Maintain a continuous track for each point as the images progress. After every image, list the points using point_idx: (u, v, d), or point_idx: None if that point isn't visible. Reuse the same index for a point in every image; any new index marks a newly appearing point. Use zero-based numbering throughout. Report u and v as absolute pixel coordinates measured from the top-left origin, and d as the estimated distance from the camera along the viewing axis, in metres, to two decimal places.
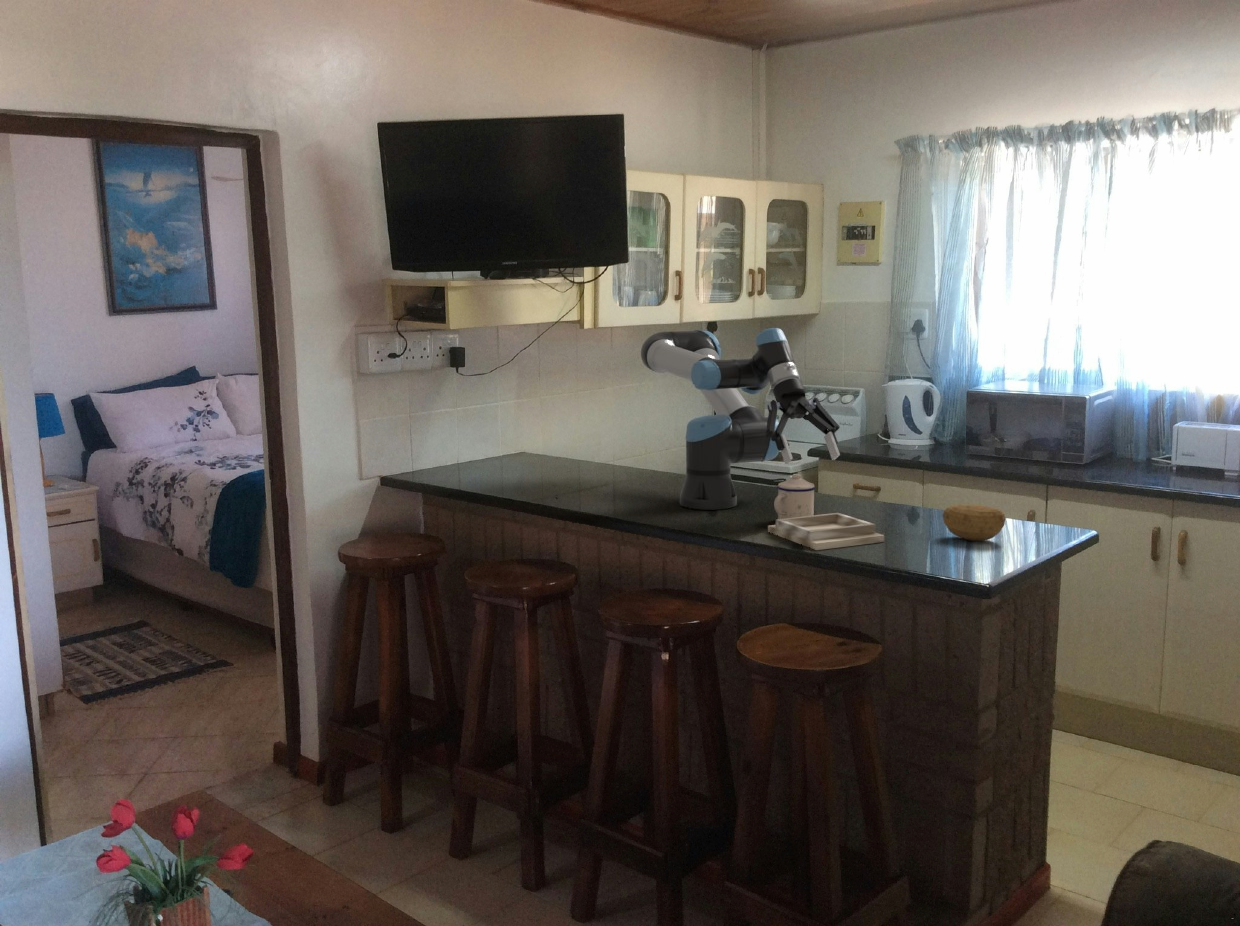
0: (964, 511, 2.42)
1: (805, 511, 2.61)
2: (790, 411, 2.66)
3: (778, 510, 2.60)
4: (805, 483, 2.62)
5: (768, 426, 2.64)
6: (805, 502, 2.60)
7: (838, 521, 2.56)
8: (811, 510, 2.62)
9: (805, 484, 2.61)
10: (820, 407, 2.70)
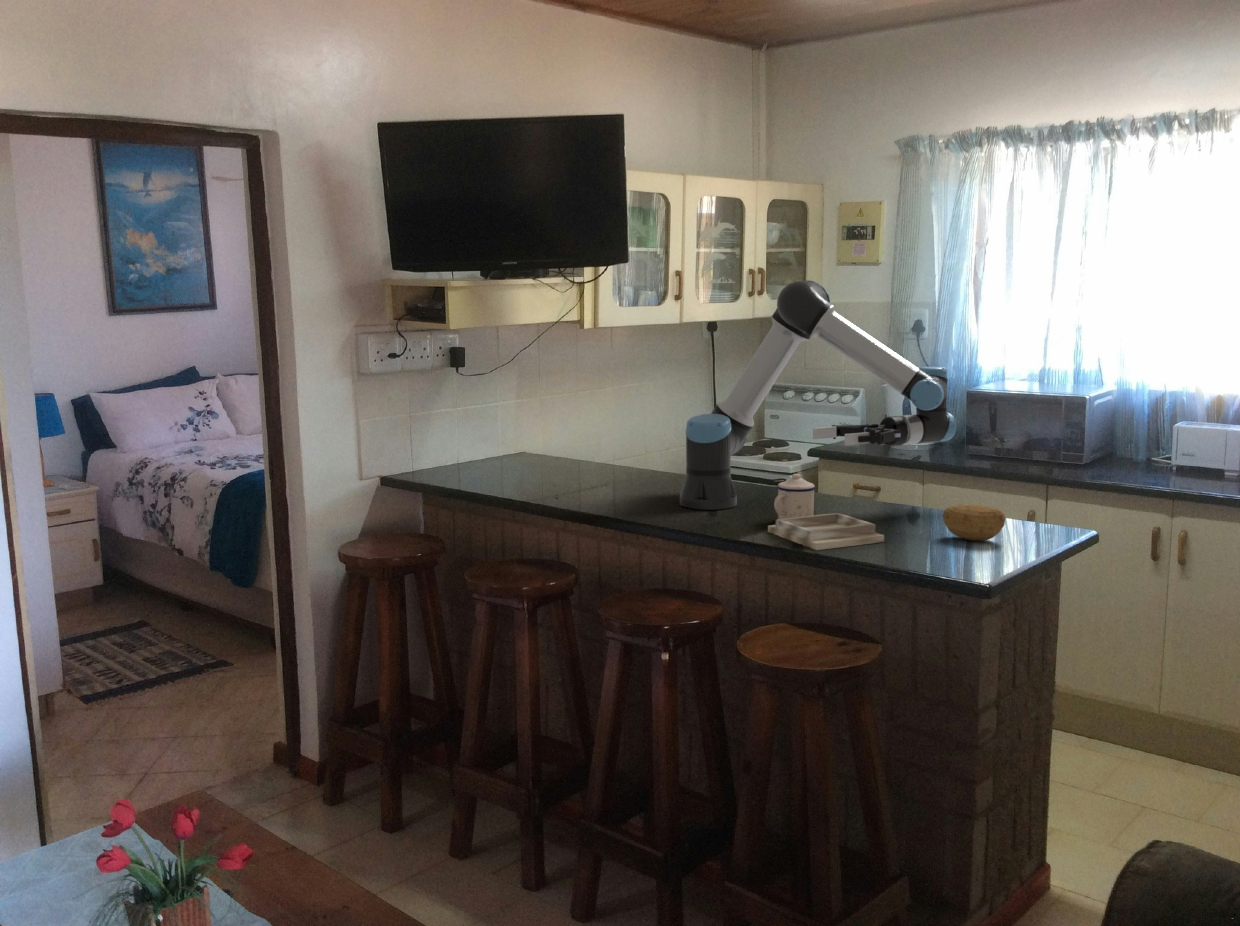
0: (964, 511, 2.42)
1: (805, 511, 2.61)
2: None
3: (778, 510, 2.60)
4: (805, 483, 2.62)
5: (885, 438, 2.61)
6: (805, 502, 2.60)
7: (838, 521, 2.56)
8: (811, 510, 2.62)
9: (805, 484, 2.61)
10: None
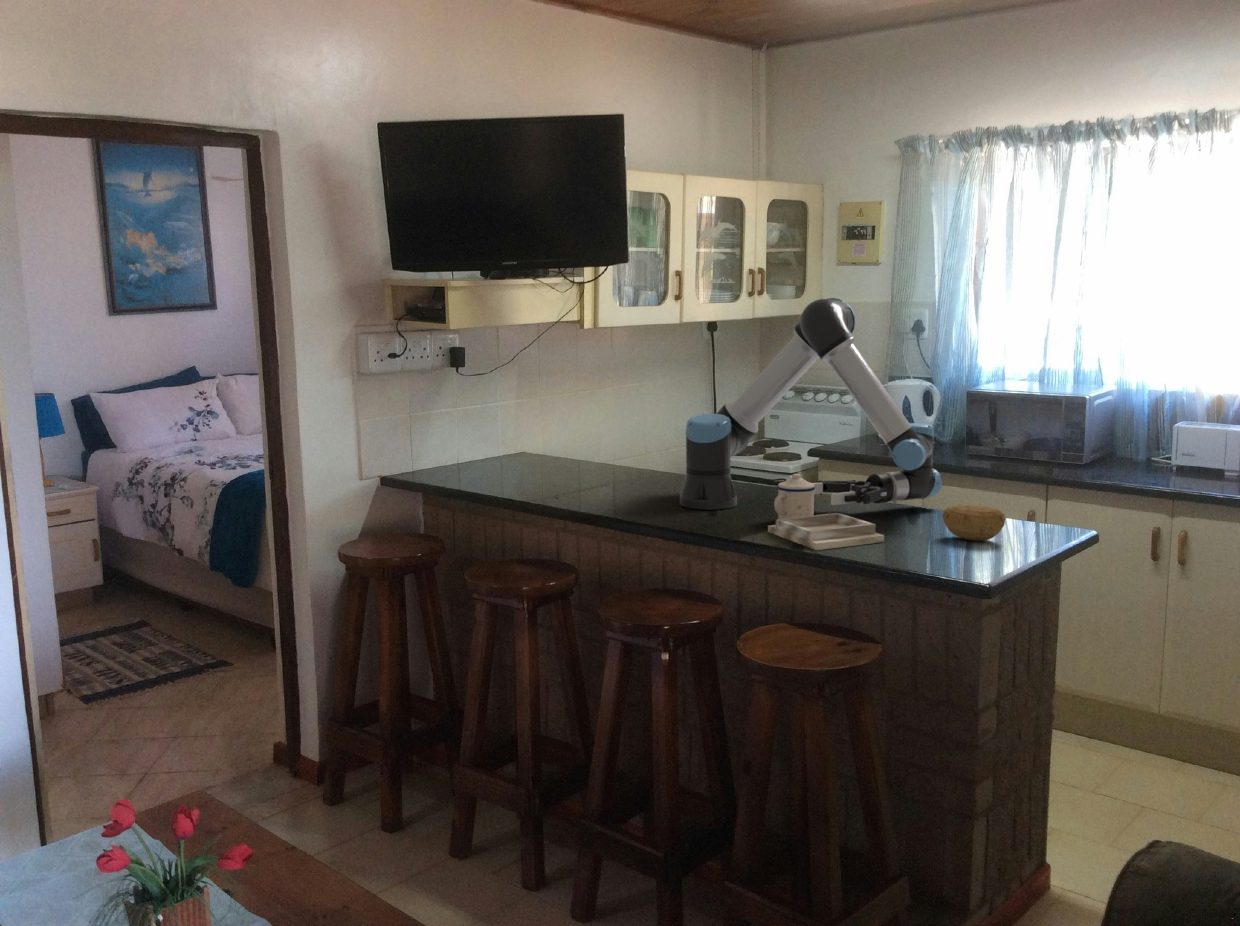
0: (964, 511, 2.42)
1: (805, 511, 2.61)
2: None
3: (778, 510, 2.60)
4: (805, 483, 2.62)
5: (871, 497, 2.61)
6: (805, 502, 2.60)
7: (838, 521, 2.56)
8: (811, 510, 2.62)
9: (805, 484, 2.61)
10: None
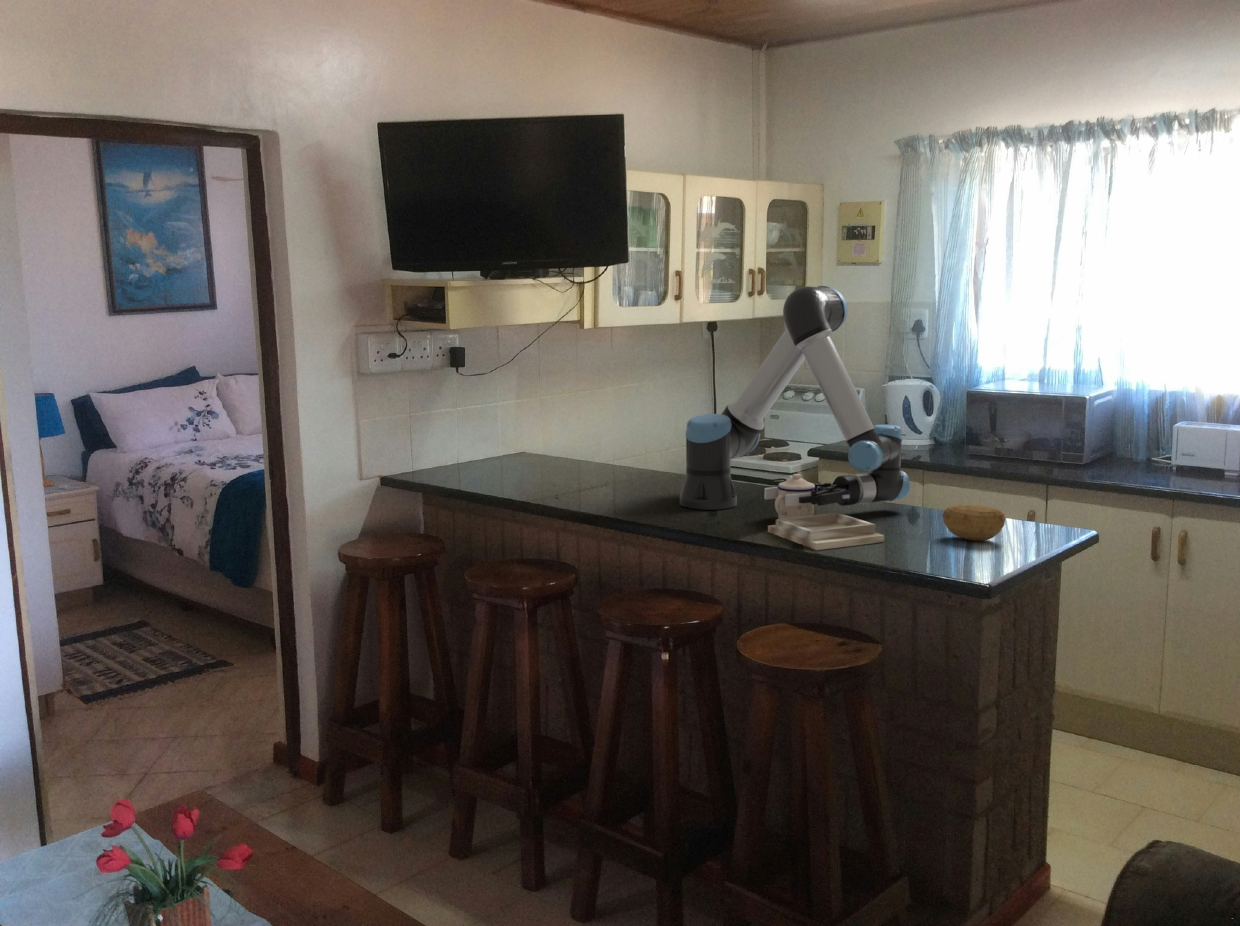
0: (964, 511, 2.42)
1: (806, 511, 2.61)
2: None
3: (779, 510, 2.60)
4: (805, 483, 2.61)
5: (827, 499, 2.59)
6: None
7: (838, 521, 2.56)
8: (811, 510, 2.62)
9: (805, 484, 2.61)
10: None
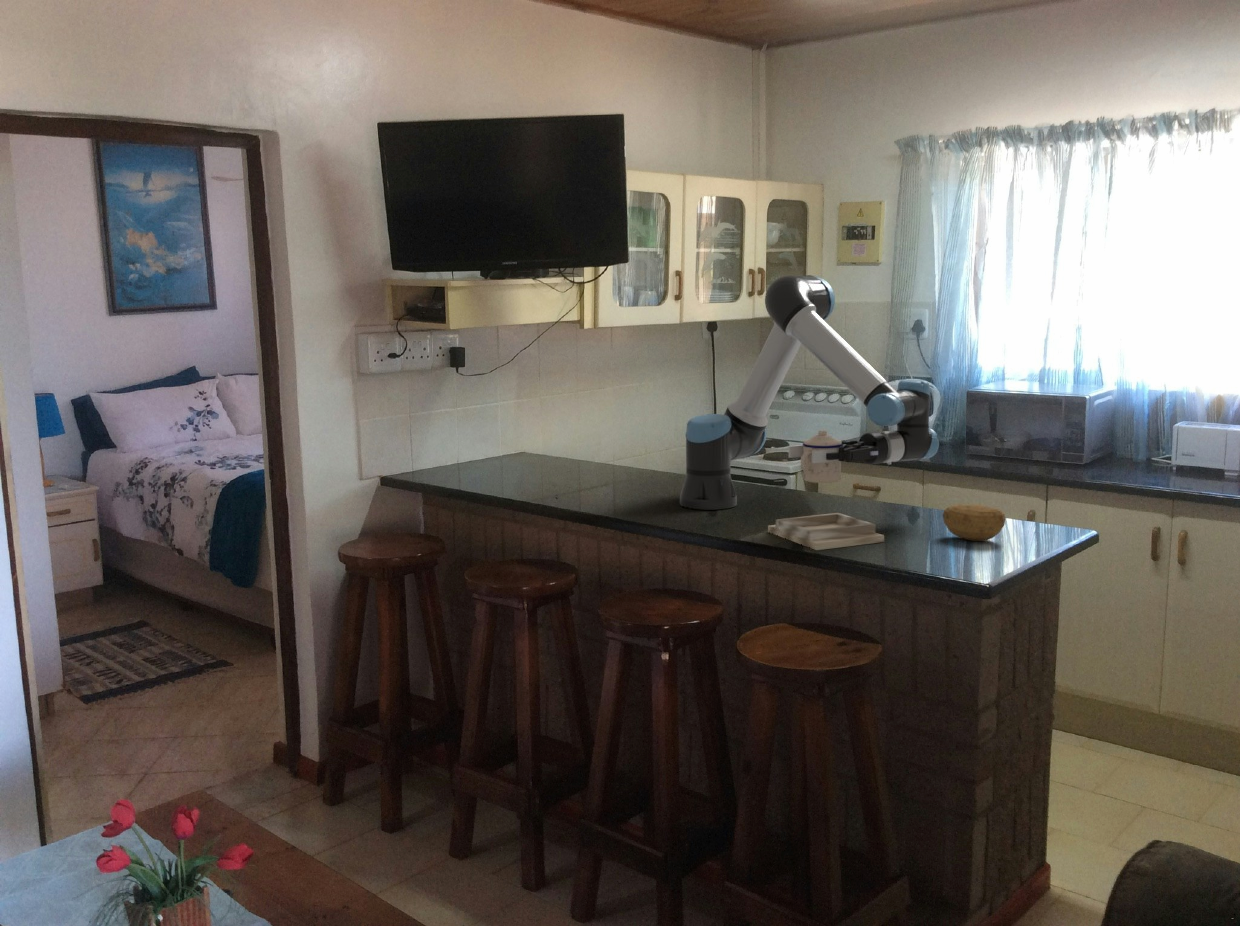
0: (964, 511, 2.42)
1: (833, 469, 2.49)
2: None
3: (805, 468, 2.48)
4: (832, 440, 2.50)
5: (856, 455, 2.47)
6: None
7: (838, 521, 2.56)
8: (838, 468, 2.50)
9: (832, 440, 2.49)
10: None
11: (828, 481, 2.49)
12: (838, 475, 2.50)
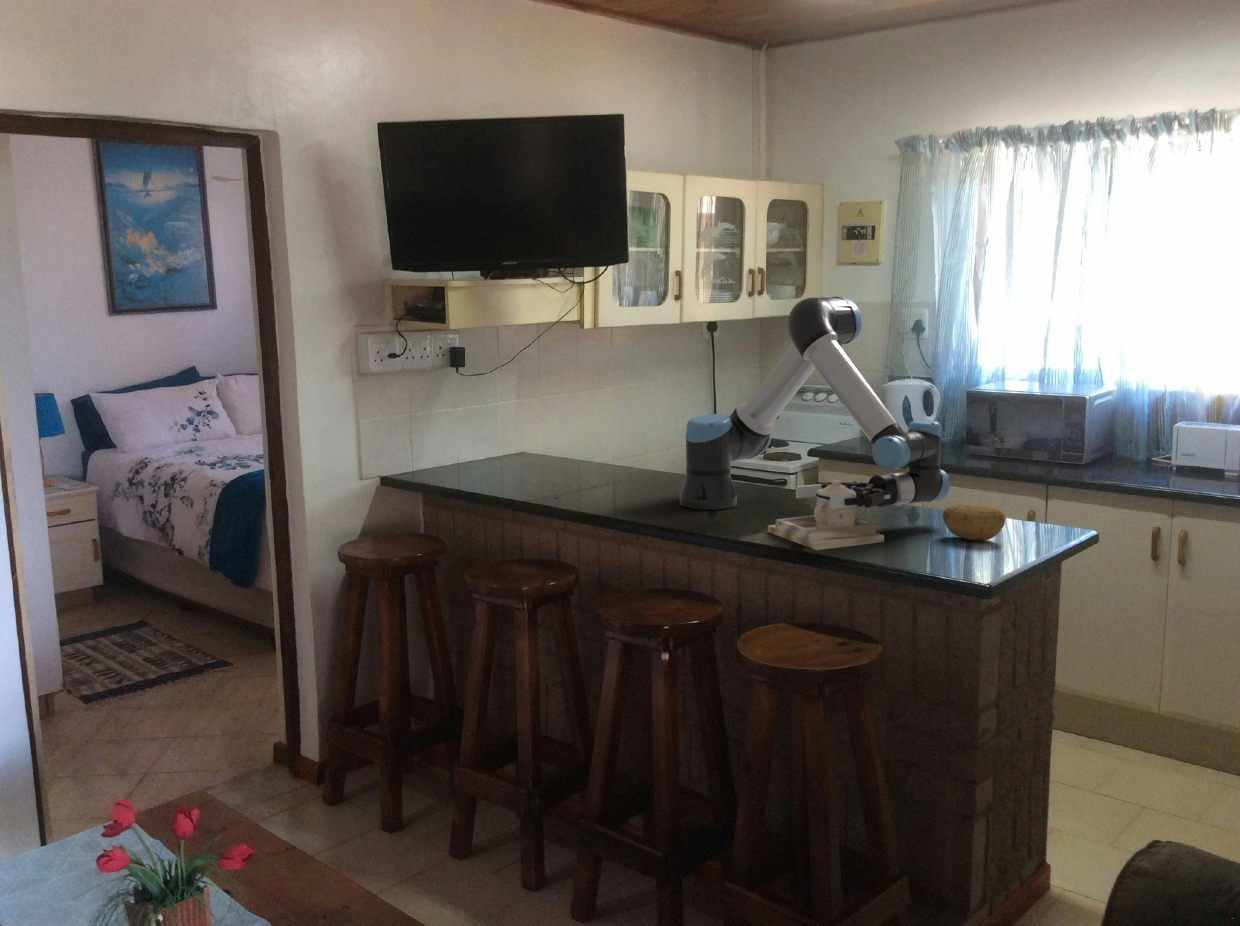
0: (964, 511, 2.42)
1: (847, 520, 2.43)
2: None
3: (818, 520, 2.42)
4: (846, 491, 2.43)
5: (873, 500, 2.41)
6: (846, 510, 2.42)
7: None
8: (853, 519, 2.44)
9: (847, 491, 2.43)
10: None
11: None
12: None
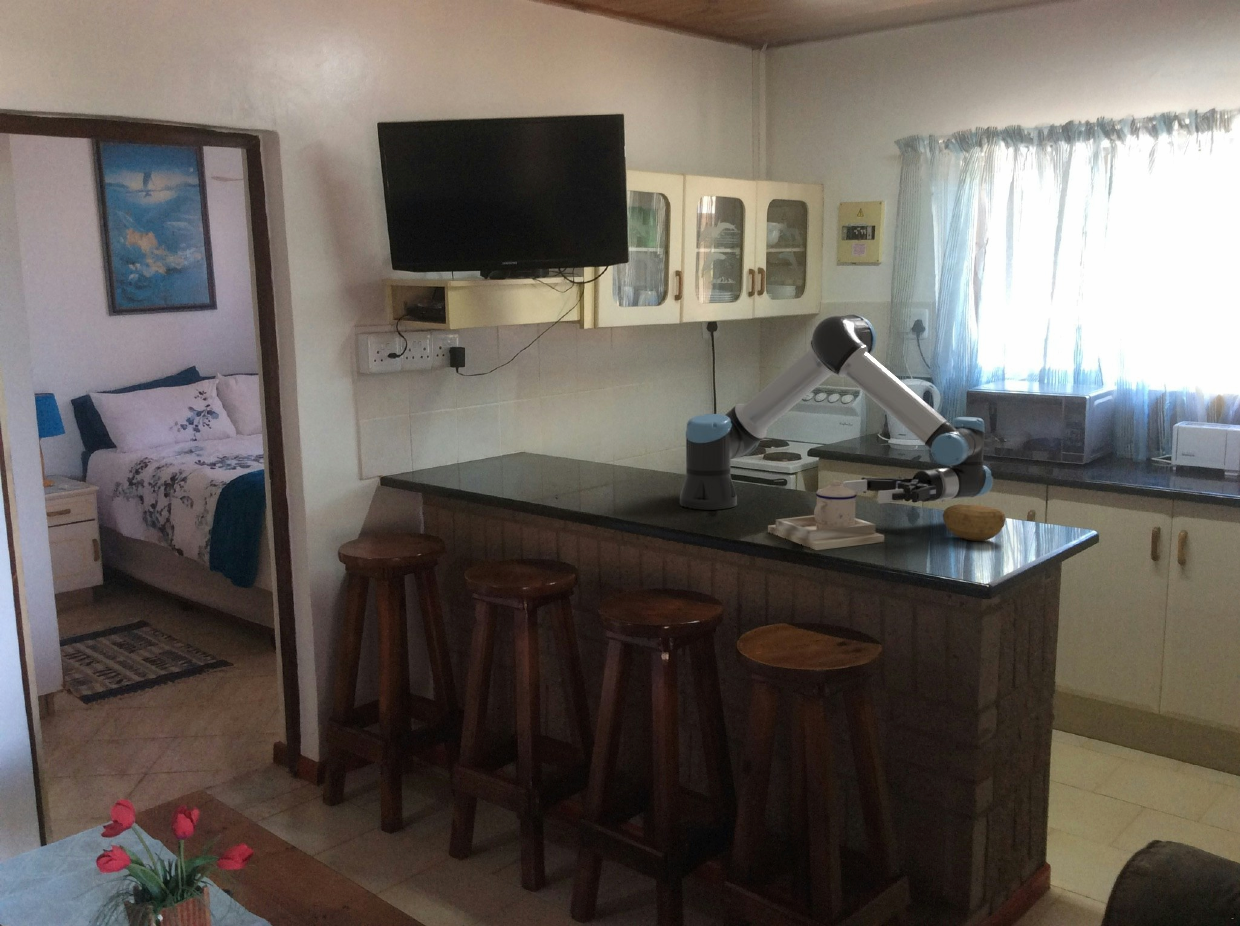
0: (964, 511, 2.42)
1: (847, 520, 2.43)
2: None
3: (818, 519, 2.42)
4: (846, 490, 2.44)
5: (920, 495, 2.46)
6: (846, 510, 2.42)
7: None
8: (853, 519, 2.44)
9: (846, 491, 2.43)
10: None
11: None
12: None
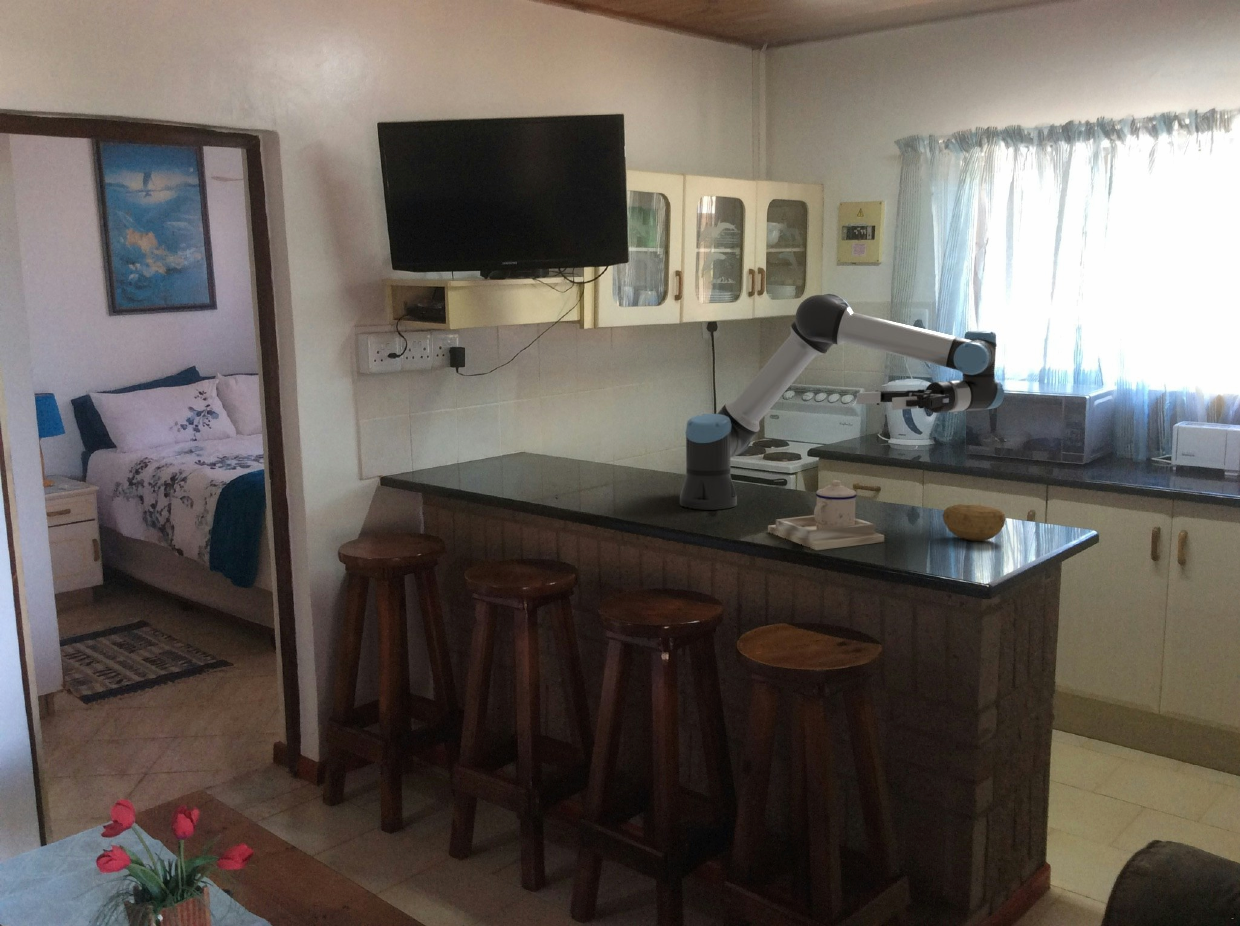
0: (964, 511, 2.42)
1: (847, 520, 2.43)
2: None
3: (818, 519, 2.42)
4: (846, 490, 2.44)
5: (934, 402, 2.50)
6: (846, 510, 2.42)
7: None
8: (852, 519, 2.44)
9: (846, 491, 2.43)
10: None
11: None
12: None
